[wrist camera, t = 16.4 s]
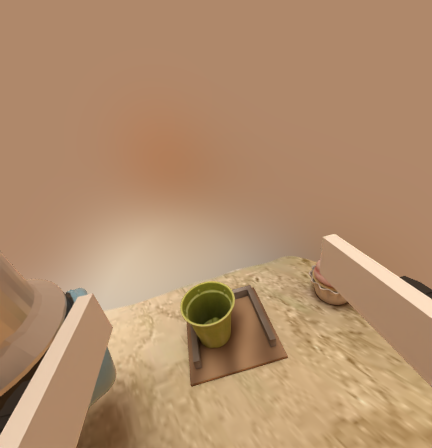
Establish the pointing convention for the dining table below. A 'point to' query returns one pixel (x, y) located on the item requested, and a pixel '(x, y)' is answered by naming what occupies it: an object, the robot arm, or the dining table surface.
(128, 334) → the dining table surface
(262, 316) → the keeper bracket
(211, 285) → the plant pot
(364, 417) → the dining table surface
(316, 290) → the cupcake
